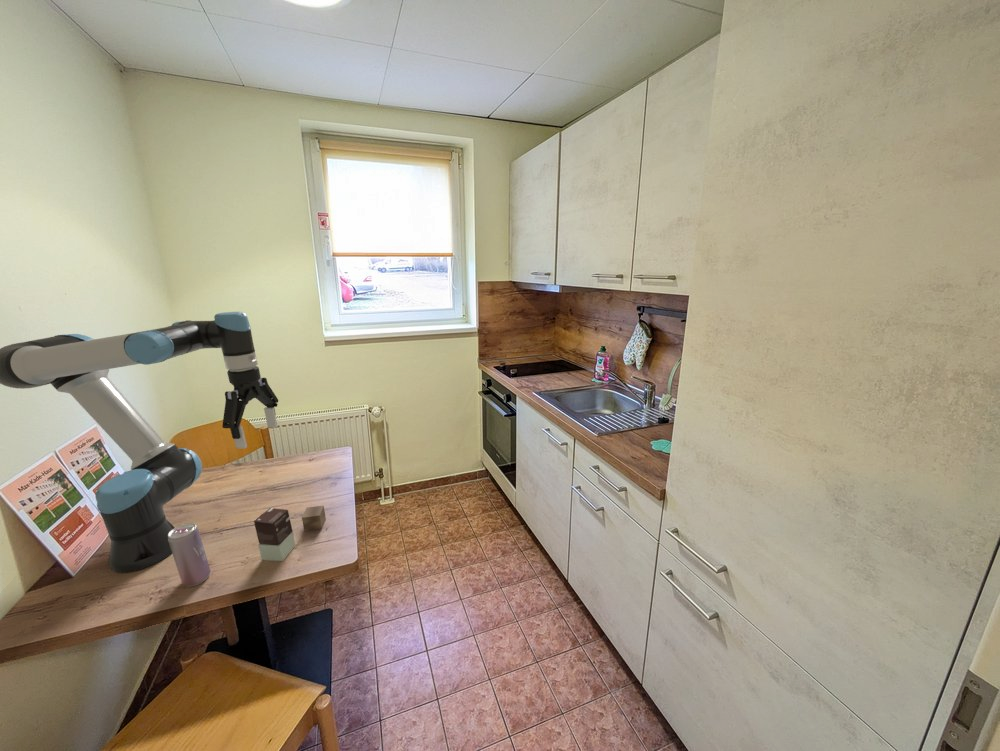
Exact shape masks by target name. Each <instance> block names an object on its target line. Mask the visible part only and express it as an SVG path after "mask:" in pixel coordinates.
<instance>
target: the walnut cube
mask: <svg viewBox="0 0 1000 751" xmlns="http://www.w3.org/2000/svg"><path fill="white" fill-rule="evenodd" d="M326 519H327V517H326V511H325V507H324V505H318V506H309V507H308V506H307V507H306V508H305V511H304V512H303V515H302V516H301V521H302V526H303V530H304V532H311V531H319V530H323V528H324V525H325V523H326Z"/></svg>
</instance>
